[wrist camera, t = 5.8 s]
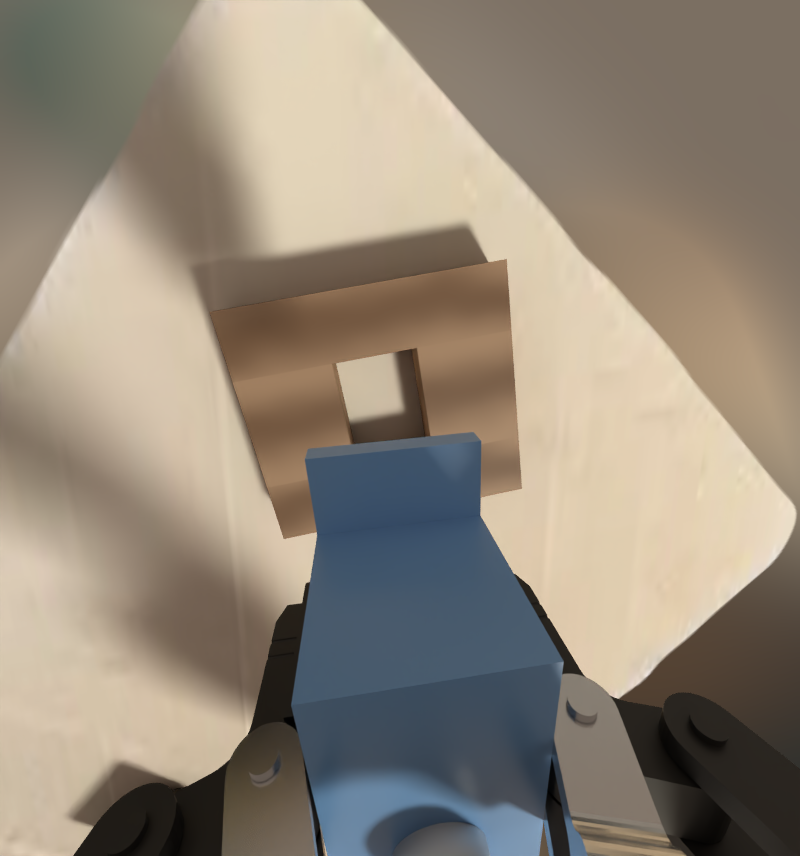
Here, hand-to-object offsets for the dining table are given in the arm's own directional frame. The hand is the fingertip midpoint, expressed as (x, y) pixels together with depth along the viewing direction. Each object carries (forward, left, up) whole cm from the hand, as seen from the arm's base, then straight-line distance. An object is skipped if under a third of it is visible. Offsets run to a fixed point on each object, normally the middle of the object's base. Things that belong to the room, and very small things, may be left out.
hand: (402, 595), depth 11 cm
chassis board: (+1, -1, -18) cm, 18 cm away
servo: (0, 0, -3) cm, 3 cm away
